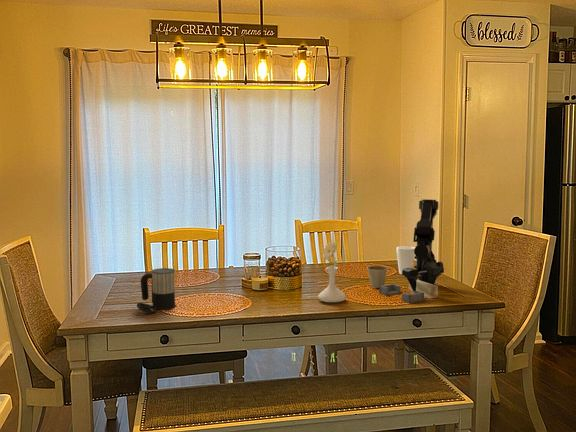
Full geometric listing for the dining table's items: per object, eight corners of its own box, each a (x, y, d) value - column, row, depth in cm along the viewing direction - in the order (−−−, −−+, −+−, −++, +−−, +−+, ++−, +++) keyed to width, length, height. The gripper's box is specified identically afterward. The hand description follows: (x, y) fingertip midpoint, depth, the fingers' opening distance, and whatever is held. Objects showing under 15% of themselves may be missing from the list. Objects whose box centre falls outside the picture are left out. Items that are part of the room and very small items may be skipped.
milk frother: (177, 303, 228) (176, 267, 226) (173, 314, 212) (172, 275, 211) (141, 304, 226) (139, 268, 225) (135, 315, 211) (133, 276, 209)
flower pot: (387, 289, 249) (387, 270, 248) (366, 288, 251) (366, 269, 250) (388, 284, 258) (388, 266, 257) (367, 283, 260) (367, 265, 259)
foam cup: (392, 273, 284) (392, 247, 282) (404, 270, 289) (405, 245, 288) (406, 276, 276) (406, 249, 275) (419, 273, 281) (419, 247, 280)
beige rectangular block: (416, 290, 247) (416, 279, 246) (437, 297, 234) (437, 286, 234) (408, 291, 245) (408, 280, 245) (429, 298, 233) (430, 287, 232)
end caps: (393, 291, 246) (393, 283, 245) (423, 300, 229) (423, 293, 229) (379, 293, 242) (379, 285, 242) (409, 303, 225) (409, 295, 225)
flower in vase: (316, 298, 235) (316, 238, 232) (343, 297, 235) (343, 238, 233) (320, 306, 222) (320, 243, 219) (348, 305, 222) (349, 242, 220)
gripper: (419, 259, 227) (418, 297, 228) (453, 255, 235) (452, 291, 237) (401, 255, 236) (400, 291, 238) (435, 251, 245) (434, 286, 247)
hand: (422, 290), depth 240 cm, fingers open, 9 cm apart
